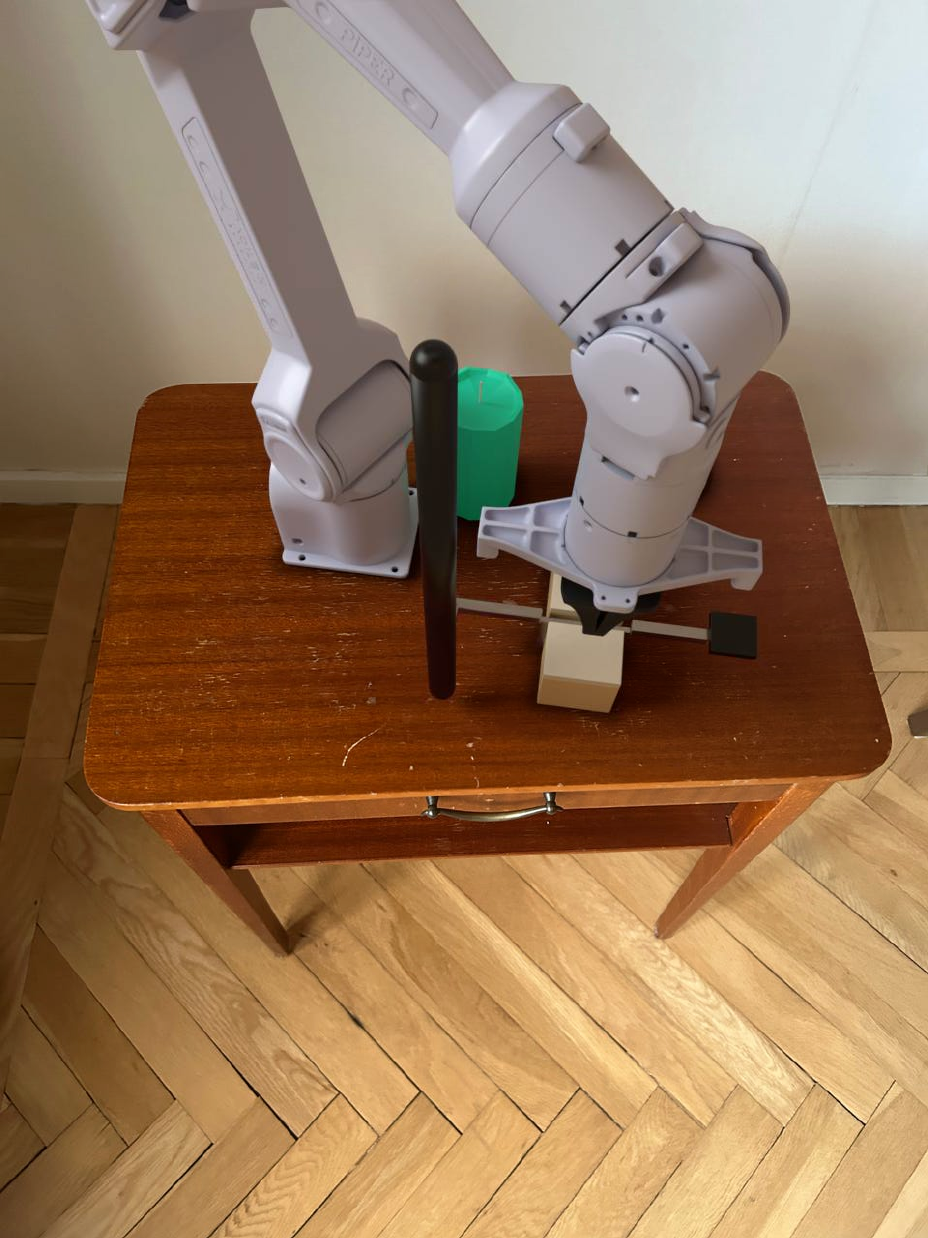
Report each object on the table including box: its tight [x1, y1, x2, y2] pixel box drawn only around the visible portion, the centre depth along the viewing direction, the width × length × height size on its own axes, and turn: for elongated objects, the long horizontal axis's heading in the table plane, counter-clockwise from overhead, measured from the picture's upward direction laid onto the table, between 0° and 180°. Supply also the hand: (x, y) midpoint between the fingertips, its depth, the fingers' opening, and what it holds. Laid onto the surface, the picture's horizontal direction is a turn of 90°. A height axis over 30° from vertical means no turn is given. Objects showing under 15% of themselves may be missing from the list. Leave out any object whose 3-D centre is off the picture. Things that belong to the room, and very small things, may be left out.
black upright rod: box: [408, 338, 758, 701], centre depth 47 cm, size 21×7×33 cm, turn 82°
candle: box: [457, 366, 525, 521], centre depth 64 cm, size 6×6×12 cm
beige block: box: [536, 622, 624, 714], centre depth 59 cm, size 5×4×5 cm
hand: (594, 621), depth 53 cm, fingers closed
